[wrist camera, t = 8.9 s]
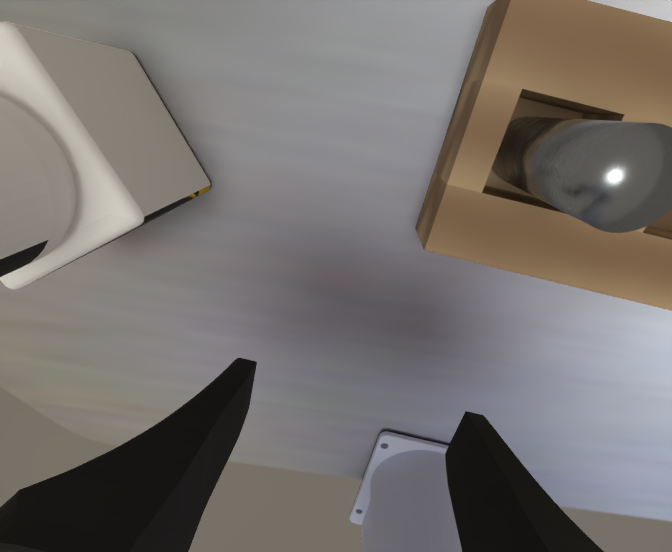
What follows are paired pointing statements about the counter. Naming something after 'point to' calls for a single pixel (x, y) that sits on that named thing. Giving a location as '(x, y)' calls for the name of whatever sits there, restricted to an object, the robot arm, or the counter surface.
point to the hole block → (553, 102)
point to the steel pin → (591, 168)
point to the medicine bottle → (80, 151)
